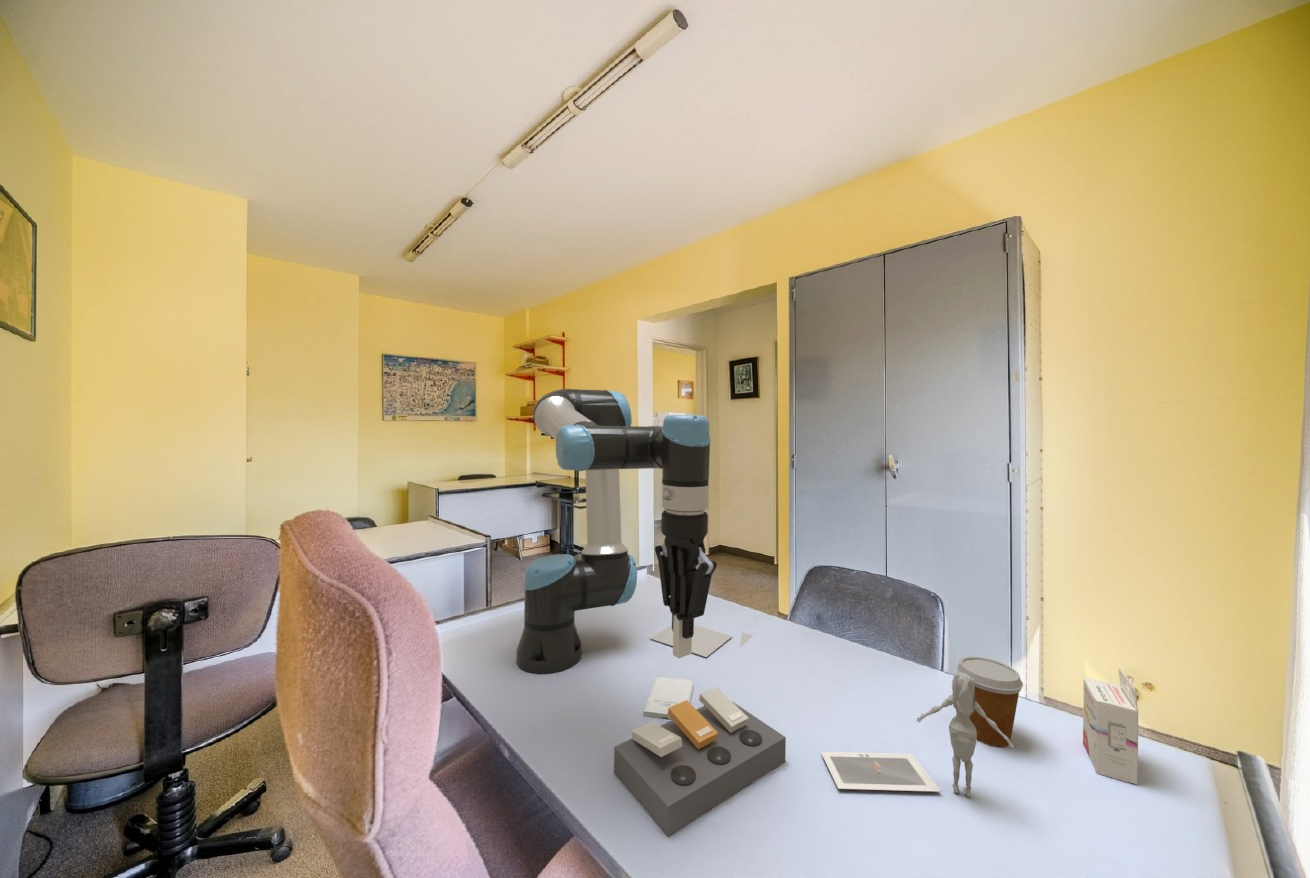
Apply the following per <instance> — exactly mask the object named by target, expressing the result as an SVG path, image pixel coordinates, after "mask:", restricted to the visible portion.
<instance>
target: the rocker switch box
mask: <svg viewBox="0 0 1310 878" xmlns="http://www.w3.org/2000/svg"><path fill="white" fill-rule="evenodd" d="M732 702H733V703H734V704H735V705H736V706H737V707H738V708H739V709H740V710H741V711H742V712H743V713H744V714H745V715H746V716H747V717H748V718H749V719H748V724H747V725H745V726H743V727H741V728H739V729H737V730H735V731H733V732H731V733H730V732H729V731H728V730H727V729H726V728H725V727H724V725H723V724H722V723H721V722H720V721H719V720H718V719H717V718H716V717H715V716H714V715H713V714H712V713H711V712H710V711H709V710H708V709H707V708H706V707H705V706H704V705H703V706H701V707H699V708H695V709H696V710H697V711H698V712H699V713H700V714H701V715H702V716H703V717H704V718H705V720H706V721H707V722H708V723H709V724H710V725H711V726H712V727H713V728H714V729H715V730H716V731H717V732H718V738H717V740H715V741H713V742H711V743H710V744H708V745H706V746H704V747H702V748H700V749H697V747H696V746H695V745H694V744H693V743H692V742H691V741H690V739H689V738H688V737H687V736H686V735H685V734H684V732H683V731H682V730H681V729H680V728H679V727H678V726H677V724H676V723H675V722H674V721H673V720H670V721H667V722H666V723H664V724H661V725H660V726H661V727H662V728H664V729H666V730H668V731H670V732H672V733H674V734H676V735H677V736H679V737H681V738H682V747H680V748H678V749H676V750H674V751H672V752H670V753H668V754H666V755H664V756H662V757H660V756H659V755H657V754H655V753H654V752H652V751H651V750H649V749H647V748H646V747H644V746H643V745H641V744H639V743H638V742H636V741H635V740H633V739H632V738H631V739H629V740H627V741H624V742H622V743H619V744H618V745H616V746H615V745H614V748H613V750H614V751H613V756H614V757H613V760H614V761H613V766H614V767H613V772H614V774H615V775H616V776H617V778H619V780H620V781H621V782H622V783H623V785H624V786H625V787H626V789H628V791H629V792H630V793H631V794H632V796H633V797H634V798H635V799H636V800H637V801H638V802H639V804H640V805H641V806H642V807H643V809H644V810H645V811H646V812H647V813H648V815H649V816H650V817H651V818H652V820H653V821H654V822H655V823H656V824H657V826H659V828H660V829H661V830H662V831H663V833H664V834H665V835H666V836H667V837H670V836H671V835H673V834H674V833H676V832H677V831H679V830H680V829H683V828H684V827H686V826H687V825H688V824H690V823H692V822H694V821H695V820H696V819H698V818H699V817H701V816H703V815H704V814H706V813H707V812H709V811H710V810H712V809H714V808H715V807H717V806H719V805H720V804H721V803H723V802H724V801H726V800H728V799H729V798H731V797H732V796H734V795H735V794H737V793H738V792H740V791H742V790H743V789H746V787H748V786H749V785H751V784H752V783H755V782H756V781H758V780H759V779H760V778H762V777H764V776H765V775H767V774H768V773H770V772H771V771H773V770H775V769H776V768H778V767H779V766H781V765H782V764H784V763H785V762H786V750H787V749H786V741H787V740H786V739H787V738H786V736H785V735H784V734H781V733H780V732H779V731H777V730H775V729H774V728H773V727H771V726H770V725H768V724H767V723H766V722H763V720H761V719H759V718H758V717H756V716H755V715H753V714H752V713H750V712H748V711H747V710H746V709H744V708H743V707H741V706H740V705H738V704H737V703H735V702H734V701H732Z"/></svg>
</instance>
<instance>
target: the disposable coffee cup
mask: <svg viewBox="0 0 1310 878" xmlns="http://www.w3.org/2000/svg"><path fill="white" fill-rule="evenodd" d="M956 671H957V673H958V672H962V673H965V674H967V675H969V676H970V677H971V678H973V679H974V680H975V688H974V695H975V701H976V702H977V703H978V704H979V705H980V707H981V709H982V710H983V711H984V712H985V714H986V717H987V718H989V719H990V720H992V721H994V722H995V723H996V725H997V727H998V729H999V730H1000V731H1001V732H1002V733H1003V734H1004V735H1006V736H1007V737H1008V738H1009V740H1010V742H1011V741H1012V735H1013V734H1012V733H1013V730H1014V729H1013V728H1014V723H1015V717H1016V713H1017V706H1018V701H1019V696H1020V692H1021V690H1022V689H1023V687H1024V682H1023V681H1022V680H1021V677H1020V673H1019V672H1017V670H1016V669H1014V668H1013V667H1011V666H1010V665H1007V664H1005V663H1002V662H1000V661H997V660H995V659H994V660H993V659H990V658H988V657H987V658H986V657H981V656H965V657H962V658H960V660H959V663H958V664H957V665H956ZM969 718H970V720H971V722H972V723H973V724H974V726H975V728H976V731H977V734H978V737H977V740H976V741H979V742H980V743H983V744H986V745H988V746H993V747H997V748H1005V747H1008V746H1010V745H1009V743H1008V742H1007V741H1006V740H1005V738H1004V737H1003V736H1002V735H1001V734H999V733H998V732H997V731H996V730H995V729H994V728H993V727H991V726H990V725H989V723H988V722H987V720H986V719H985V718H984V717H982V716H981V715H980V714H979V713H978V712H977V711H976V710H975V709H974V711H973V712H972V713H971V715H970V716H969Z"/></svg>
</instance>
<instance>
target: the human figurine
mask: <svg viewBox="0 0 1310 878" xmlns="http://www.w3.org/2000/svg"><path fill="white" fill-rule="evenodd" d="M951 685H952V686H951V690H952V694H951V695H949V696H948V697H947V698H945V699H944V701H942V703H941V705H936V706H932V708H931V709H930V710H928V711H927V712H926V713H921V715H920V716H919V717H917V718H916V720H915V721H916V722H917V723H920V722H921V721H922V720H923V719H925V718H926V717H928V716H930V715H933V714H936V713H939V712H940V711H941V710H942V709H943V708H947V707H949V706H953V708H954V709H955V714H956V715H954V717H952V719H951V720H950V722H949V725H948V731H949V737H950V744H951V748H952V751H953V755H952V759H951V760H952V766H953V772H952V775H953V782H954V783H952V788H953V792H954V793H955V794H960V788H959V780H960V777H961V776H960V770H961V764H962V763H964V769H965V786H964V787H963V790H964V791H963V792H964V796H966V797H967V798H971V795H972V794H971V792H972V791H971V790H972V786H971V785H972V779H973V778H972V777H973V776H972V772H973V768H974V766H973V765H974V764H973V762H972V757H973V756H974V753H975V749H976V747H977V746H976V745H977V741H978V740H977V737H978V734H977V731H976V728H975V726H974V724H973V723H972V722H971V720H970V718H969V716H970V715H971V713H972V712H973V711H974V709H975V710H976V711H977V712H978V713H979V714H980V715H981V716H982V717H984V718H985V719H986V720H987V722H988V723H989V725H990V726H991V727H993V728H994V729H995V730H996V731H997V732H998V733H999V734H1001V735H1002V736H1003V737H1004V738H1005V740H1006V741H1007V742H1008V743H1009V745H1008V746H1010V747H1011V748H1012V749H1014V748H1015V746H1014V744H1013V743H1012V742H1011V741H1010V740H1009V738H1008V737H1007V736H1006V735H1004V734H1003V733H1002V732H1001V731H1000V730H999V729H998V727H997V725H996V723H995V722H994V721H992V720H990V719H989V718H987V717H986V714H985V712H984V711H983V710H982V709H981V707H980V705H979V704H978V703H977V702H976V701H975V695H974V688H975V680H974V679H973V678H971V677H970V676H969V675H967V674H965V673H962V672H958V671H957V673H955V674H953V678H952V681H951Z"/></svg>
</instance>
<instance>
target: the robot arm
mask: <svg viewBox="0 0 1310 878" xmlns="http://www.w3.org/2000/svg"><path fill="white" fill-rule="evenodd" d="M532 412H533V413H532V417H533V421H534V424H535V427H536V428H537V429H538V430H539V431H540V432H541V433H542V434H544V435H546V436H548V437H550V438H552V439H554V441H555V457H556V460H557V465H558V466H559V468H560V469H562V470H563V471H577V472H585V501H586V502H585V503H586V541H587V542H586V546H585V547H584V548H583V549H582V550H581V555H580V557H581V559H579V560H576V558H575V556H573V555H572V554H568V553H564V554H561V553H559V554H558V553H557V554H551V555H547V556H546V555H545V556H543V557H540V558H537V559H535V560H534V561H532V562H531V563H529V564H528V565H527V566H526V569H525V571H524V580H523V581H524V583H523V589H524V611H523V613H524V615H523V616H524V618H523V619H524V621H523V622H524V623H523V624H524V625H523V626H524V627H523V630H522V633H521V637H520V640H519V642H518V645H517V648H516V653H515V654H516V658H515V660H516V665H517V666H518V668H520V669H522V670H523V671H525V672H527V673H528V672H529V673H535V674H551V673H557V672H560V671H565V670H566V669H569V668H571V667H574V665H576V664H578V662H580V660H581V658H582V655H583V654H582V653H583V650H582V642H581V638H580V636H579V632H578V630H577V629H578V628H577V626H576V623H575V616H576V615H575V612H576V611H582V610H589V609H590V610H591V609H597V608H602V607H615V606H616V605H621V604H625V603H628V602H629V601H630V600H631V599H632V598H633V596H634V594H635V591H636V588H637V583H638V567H637V566H636V565H637V564H636V563H637V562H636V560H635V558H634V556H632V554H631V555H630V554H629V550H628V547H627V546H625V545H624V544H623V542H622V518H621V489H620V487H621V486H620V470H636V469H637V470H638V469H639V470H640V469H641V470H642V469H643V470H644V469H658V470H661V471H662V477H661V483H662V489H661V490H662V491H661V492H662V496H661V508H663V509H664V510H663V511H662V512H661V520H660V521H661V524H660V525H661V526H660V527H661V529H660V530H661V531H660V532H661V533H662V534H663V536H664V540H663V542H664V543H663V544H661V545H656V546H655V547H654V552H655V555H656V558H657V561H658V569H659V578H660V585H661V587H660V588H661V594H662V602H663V603H662V604H663V605H664V606H665V607H668V608H669V611H670V613H671V625H672V631H673V646H672V655H673V656H674V657H675V658H676V659H679V660H680V659H681V658H682V659H683V658H684V657H686V656H690V655H691V654H692V652H691V647H692V637H693V635H694V631H693V630H694V625H695V624H694V623H695V619H696V618H699V617H702V616H704V614H705V610H706V607H707V606H706V605H707V601H708V595H709V591H710V586H711V581H712V576H713V574H714V572H715V570H716V569H717V567H718V566H717V565H718V564H717V562H716V560H710V559H709V558H708V557H707V555H706V546H705V543H704V539H705V538H706V536H707V535H708V532H709V514H708V513H707V511H708V509H709V500H710V499H709V498H710V496H709V495H710V493H709V492H710V490H709V488H710V487H709V479H710V456H711V455H710V454H711V453H710V452H711V451H710V449H711V436H710V420H709V419H708V418H707V417H706V416H705V415H700V414H698V415H697V414H695V415H693V414H692V415H691V414H669V415H666V416H665V417H664V419H663V424H662V426H661V425H648V426H641V425H640V426H639V425H637V426H635V425H634V426H632V421H633V420H632V419H633V418H632V412H631V407H630V404H629V401H628V399H627V397H626V396H625V395H624V394H623V393H622V392H619V391H613V390H608V389H603V390H602V389H601V390H600V389H575V388H574V389H572V388H560V389H557V390H553V391H551V392H547V393H546V394H544V395H543V396H541V398H539V399H538V400H537V402H536V403H535V405H534V407H533V411H532Z"/></svg>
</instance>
